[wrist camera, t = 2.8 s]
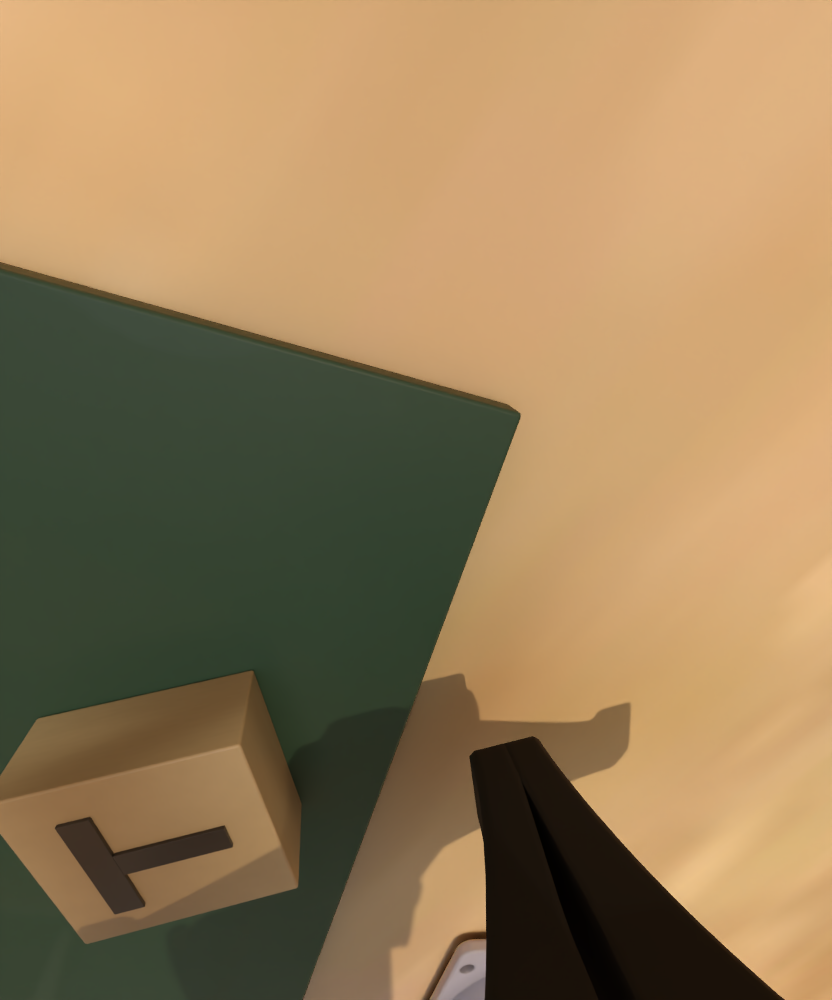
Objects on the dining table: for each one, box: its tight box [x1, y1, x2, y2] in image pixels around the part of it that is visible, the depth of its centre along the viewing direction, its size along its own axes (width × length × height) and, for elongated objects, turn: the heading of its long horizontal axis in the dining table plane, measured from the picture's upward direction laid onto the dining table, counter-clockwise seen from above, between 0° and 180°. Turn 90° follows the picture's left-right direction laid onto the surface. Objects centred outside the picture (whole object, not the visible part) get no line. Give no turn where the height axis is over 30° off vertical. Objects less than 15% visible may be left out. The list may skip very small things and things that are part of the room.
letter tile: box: [0, 670, 302, 944], centre depth 11 cm, size 4×4×2 cm
